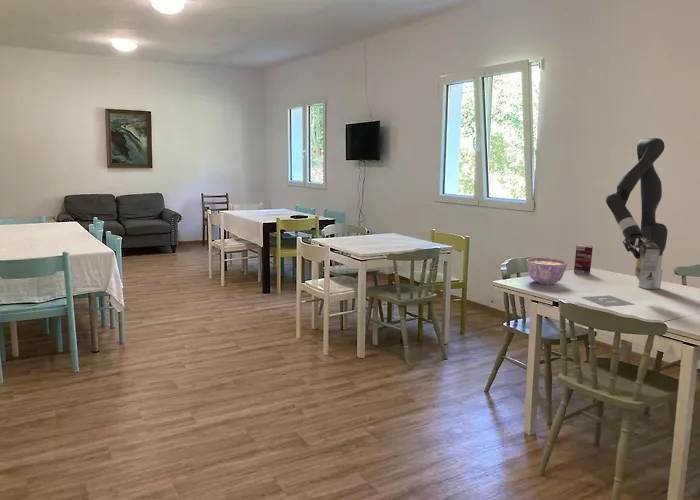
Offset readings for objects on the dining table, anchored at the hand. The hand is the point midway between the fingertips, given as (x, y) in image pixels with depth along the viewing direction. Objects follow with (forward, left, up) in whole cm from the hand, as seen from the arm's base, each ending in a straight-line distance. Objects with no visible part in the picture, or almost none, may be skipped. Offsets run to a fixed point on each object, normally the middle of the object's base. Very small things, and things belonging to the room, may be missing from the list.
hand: (646, 257), depth 255 cm
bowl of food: (+23, -41, -20) cm, 52 cm away
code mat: (+16, -3, -20) cm, 26 cm away
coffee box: (0, +1, -10) cm, 10 cm away
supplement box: (-12, -57, -20) cm, 62 cm away
